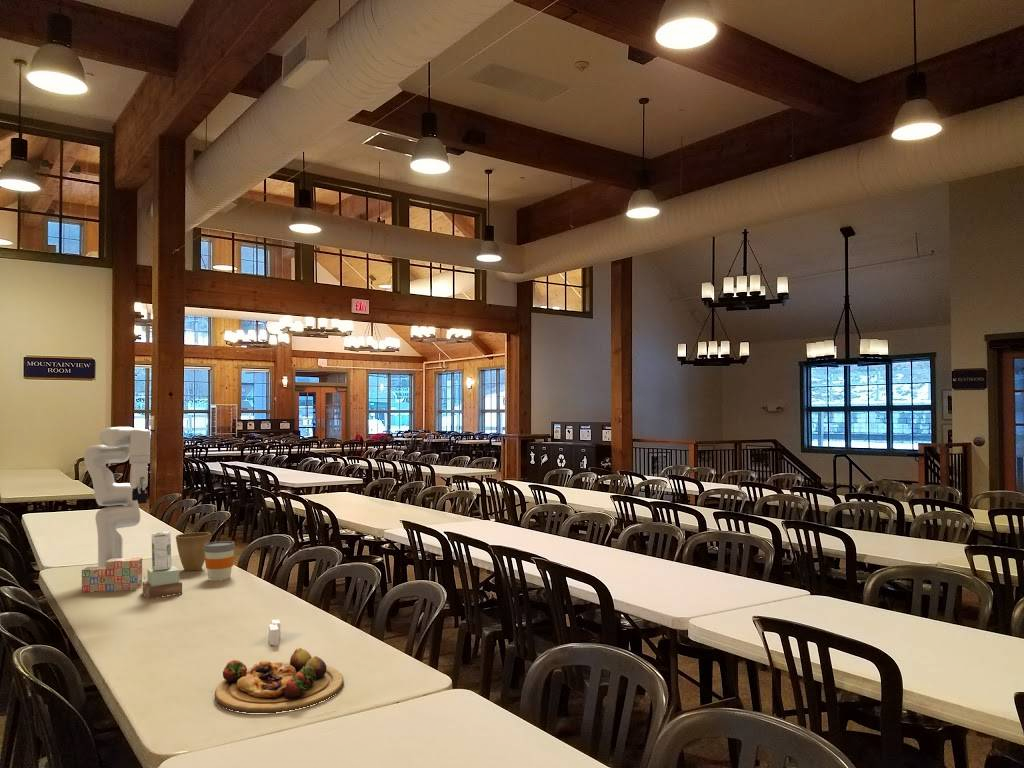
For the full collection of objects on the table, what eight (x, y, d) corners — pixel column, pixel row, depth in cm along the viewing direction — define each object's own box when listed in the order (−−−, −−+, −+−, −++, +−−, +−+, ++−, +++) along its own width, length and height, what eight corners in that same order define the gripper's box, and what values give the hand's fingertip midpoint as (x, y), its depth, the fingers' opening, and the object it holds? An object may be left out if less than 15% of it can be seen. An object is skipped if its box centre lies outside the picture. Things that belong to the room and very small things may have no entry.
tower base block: (142, 594, 299) (142, 581, 299) (174, 589, 306) (174, 577, 306) (149, 600, 289) (149, 587, 289) (182, 595, 296) (182, 582, 297)
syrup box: (156, 568, 300) (155, 532, 301) (172, 566, 301) (170, 531, 302) (152, 571, 295) (150, 534, 296) (168, 569, 296) (166, 532, 296)
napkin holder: (278, 649, 227) (278, 631, 227) (246, 647, 230) (246, 628, 230) (305, 635, 242) (305, 617, 242) (274, 632, 245) (274, 615, 245)
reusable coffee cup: (197, 580, 320) (197, 545, 321) (219, 574, 332) (219, 540, 332) (220, 582, 316) (220, 547, 316) (241, 576, 327) (241, 541, 328)
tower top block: (147, 581, 299) (147, 569, 299) (174, 578, 305) (174, 565, 305) (151, 586, 291) (151, 573, 291) (179, 582, 297) (179, 569, 297)
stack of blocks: (81, 593, 301) (81, 562, 301) (87, 589, 307) (87, 559, 308) (137, 590, 305) (137, 559, 305) (142, 586, 311) (142, 556, 311)
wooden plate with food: (185, 706, 184) (186, 672, 184) (270, 662, 214) (271, 634, 214) (292, 727, 173) (292, 691, 173) (366, 678, 202) (366, 648, 203)
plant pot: (213, 569, 341) (213, 534, 341) (178, 574, 332) (179, 538, 333) (206, 564, 353) (206, 530, 354) (172, 568, 345) (172, 534, 345)
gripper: (125, 458, 307) (124, 499, 307) (134, 461, 293) (133, 505, 293) (144, 457, 311) (144, 498, 311) (155, 460, 298) (154, 503, 298)
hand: (139, 501), depth 302 cm, fingers open, 9 cm apart
